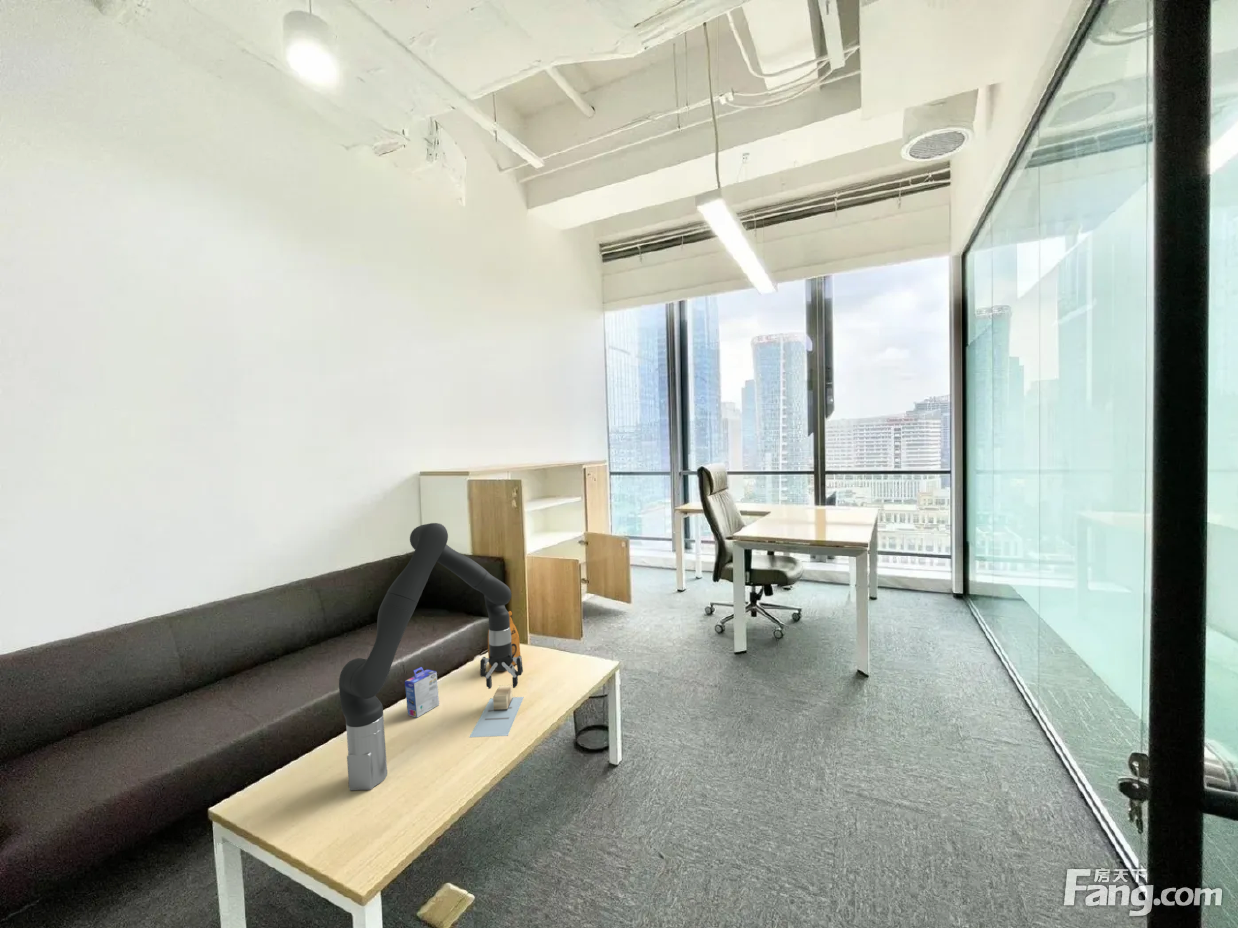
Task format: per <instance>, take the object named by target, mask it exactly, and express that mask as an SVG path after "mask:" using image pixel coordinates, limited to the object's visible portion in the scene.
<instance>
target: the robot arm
mask: <svg viewBox="0 0 1238 928" xmlns="http://www.w3.org/2000/svg"><path fill="white" fill-rule="evenodd" d="M448 533H449V532H448V529H447V528H446V526H444V525H443V524H442V523H438V522H431V523H425V524H421V525H419V526H416V527H415V528H413V530H412V531H411V532H410V534H409V543H410V546H411V547H412V549H414V552H413V554H412V556H411V558H410V560H409V562H408V563H407V565H406V566H405V568H403V570H402V571H401V572H400V574H399V575H398V576H397V577H396V578H395V579H394V581H393V582H392V584H390V587H389V588H388V589H387V591H386V594H385V595H384V597H383V600H382V602H381V604H380V606H379V609H378V613H377V619H376V620H377V621H376V622H377V623H376V626H377V628H376V637H375V641H374V644H373V646H372V649H371V651H370V653H369V655H368V657H367V659H366V658H363V657H362V658H361V657H359V658H354V659H351V660H349V661H348V662H347V663H346V664H345V665H344V666H343V668H342V669H341V672H340V674H339V678H338V688H339V691H338V692H339V699H340V706H341V713H342V714H343V716H344V719H345V726H346V727H345V728H346V742H347V745H346V746H347V756H346V762H347V776H348V777H347V779H348V790H349V791H364V790H365V791H367V790H373V788H375V786H377V785H379V784H380V783H383V781H384V780H385V779H386V777H387V776H388V764H387V752H386V751H387V750H386V736H385V722H384V721H385V720H384V706H383V704H382V702H381V700H379V698H378V697H377V696H376V695H378V694H379V693H380V692H381V690H382V689H383V687H384V685H385V683H386V681H387V679H388V676H389V674H390V670H391V668H392V665H393V661H394V659H395V656H396V654H397V650H398V648H399V645H400V643H401V640H402V639H403V637H404V636H403V635H404V633H405V632H406V629H407V627H408V624H409V622H410V620H411V618H412V616H413V614H414V611H415V609H416V607H417V606H418V603H419V600H420V598H421V597H422V594H423V590H424V589H425V587H426V584H427V583H428V579H429V578H430V575H431V572H432V571H433V568H434V567H435V565H436V564H437V563H438V564H439V565H441V566H442V567H444V568H445V569H447V570H448V571H451V573H453V574H454V575H456V576H457V577H458V578H460V579H461V580H463V582H464V583H466V584H467V585H468V586H469V587H471V588H472V589H474V590H476V591H478V592H480V593H482V594H483V596H484V602H485V608H486V611H487V614H488V616H487V617H488V631H489V654H490V658H489V657H486V656H482V658H481V659H480V665H479V667H480V669H479V670H480V671H479V675H480V677H481V678H483V677H484V678H485V682H486V683H485V684H486V687H487V689H488V690H490V689H492V686H493V682H492V679H493V678H492V674H493V673H494V671H496V672H506V671H507V672H508V674H510V675H511V676H512V677H511V678H512V679H511V681H512V689H515V688H517V686H518V683H519V678H518V677H519V676H521V675H522V673H523V672H524V668H523V659H522V658H523V657H522V655H521V656H518V657H513V656H512V645H511V631H510V619H509V611H508V610H507V608H506V605H507V604H509V602H510V600H511V598H512V591H511V589H510V587H509V586H508V585H507V584H505V583H504V582H503V581H501V580H500V579H498V578H497V577H495V576H493V574H490V572H489V571H487V569H485V568H484V567H483V566H482V565H480V564H479V563H477V562H476V561H475V560H473V559H471V558H470V557H468V556H466V555H464V554H462V553H461V552H458V551H456V550H455V549H453V548H452V547H450V545H448V544H447V543H448V539H449V534H448ZM513 661H514V662H515V663H516V664H515V665H516V668H517V669H516V668H515V665H514V666H513V665H512V662H513ZM489 663H490V665H491V666H492V667H491V669H489V670H488V671H486V669H487V667H486V666H487V665H488V664H489Z"/></svg>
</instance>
